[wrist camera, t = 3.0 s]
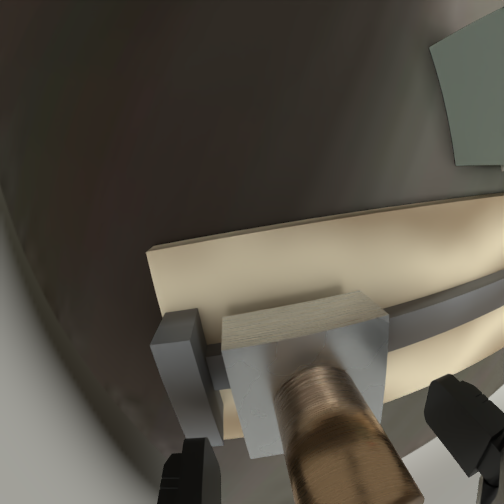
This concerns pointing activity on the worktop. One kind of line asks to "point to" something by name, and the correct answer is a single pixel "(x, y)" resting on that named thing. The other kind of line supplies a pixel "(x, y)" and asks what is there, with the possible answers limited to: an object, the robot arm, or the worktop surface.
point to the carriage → (318, 397)
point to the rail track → (334, 294)
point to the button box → (474, 89)
